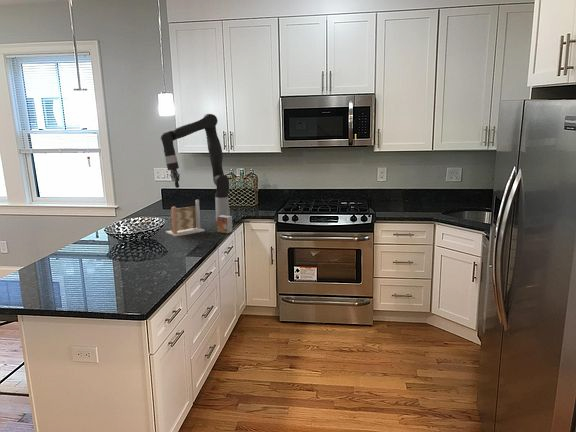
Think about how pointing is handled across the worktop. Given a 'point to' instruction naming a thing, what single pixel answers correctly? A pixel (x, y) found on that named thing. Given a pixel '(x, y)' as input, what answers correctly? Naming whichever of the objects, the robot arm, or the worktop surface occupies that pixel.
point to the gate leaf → (185, 218)
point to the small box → (224, 224)
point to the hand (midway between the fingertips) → (177, 187)
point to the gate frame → (187, 231)
